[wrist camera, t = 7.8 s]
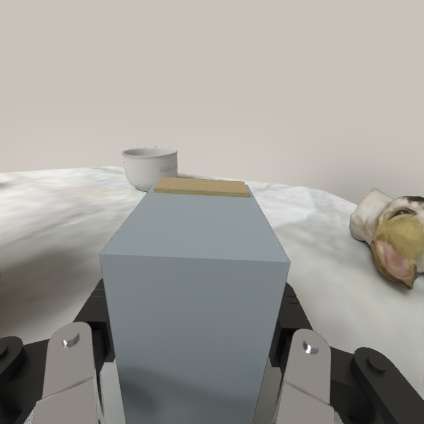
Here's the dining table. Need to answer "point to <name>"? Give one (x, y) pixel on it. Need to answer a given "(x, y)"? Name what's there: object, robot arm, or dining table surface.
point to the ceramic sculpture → (392, 234)
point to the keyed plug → (193, 302)
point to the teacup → (149, 165)
